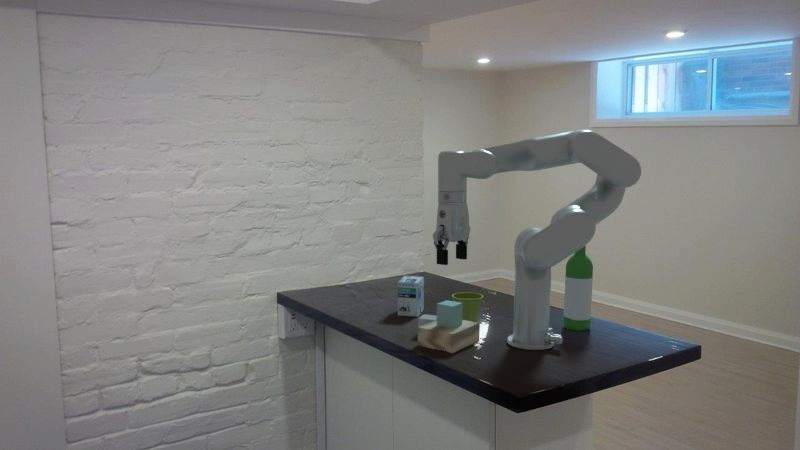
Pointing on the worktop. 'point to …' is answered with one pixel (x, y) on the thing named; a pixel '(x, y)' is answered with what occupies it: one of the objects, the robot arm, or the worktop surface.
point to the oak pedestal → (448, 336)
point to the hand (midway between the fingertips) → (452, 261)
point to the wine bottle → (578, 291)
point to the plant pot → (469, 304)
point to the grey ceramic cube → (426, 319)
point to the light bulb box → (410, 296)
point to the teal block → (449, 314)
